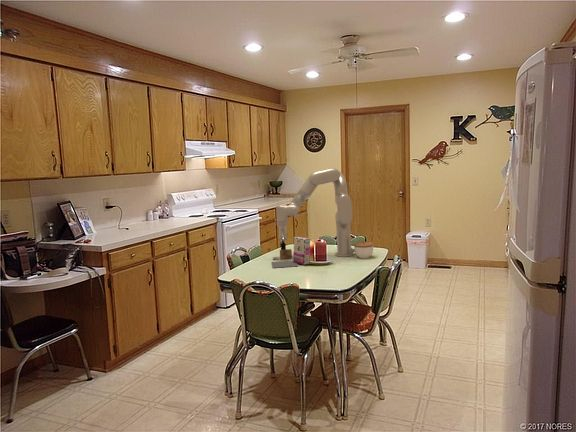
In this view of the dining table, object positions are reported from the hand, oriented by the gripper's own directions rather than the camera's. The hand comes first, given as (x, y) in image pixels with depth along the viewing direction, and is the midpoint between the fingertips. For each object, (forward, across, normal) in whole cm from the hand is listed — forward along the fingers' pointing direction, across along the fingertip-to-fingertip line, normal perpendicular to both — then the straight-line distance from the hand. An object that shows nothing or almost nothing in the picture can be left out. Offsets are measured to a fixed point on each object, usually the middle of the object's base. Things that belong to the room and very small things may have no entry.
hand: (283, 248), depth 303 cm
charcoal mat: (+7, -18, 0) cm, 19 cm away
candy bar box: (+7, -18, -11) cm, 22 cm away
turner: (+7, 0, +1) cm, 7 cm away
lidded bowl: (+6, -12, -53) cm, 54 cm away
